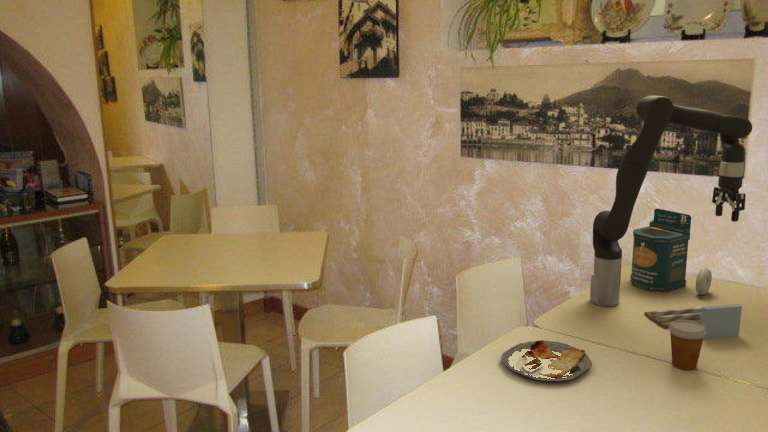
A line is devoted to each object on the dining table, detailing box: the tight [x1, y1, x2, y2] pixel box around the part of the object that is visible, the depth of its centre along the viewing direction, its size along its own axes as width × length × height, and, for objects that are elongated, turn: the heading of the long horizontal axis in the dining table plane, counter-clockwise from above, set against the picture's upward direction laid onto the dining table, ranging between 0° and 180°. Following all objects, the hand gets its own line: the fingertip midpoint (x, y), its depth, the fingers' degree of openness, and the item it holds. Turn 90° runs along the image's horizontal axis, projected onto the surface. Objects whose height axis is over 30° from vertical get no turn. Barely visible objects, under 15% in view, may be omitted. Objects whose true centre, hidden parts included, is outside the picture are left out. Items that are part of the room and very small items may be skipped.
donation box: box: [629, 208, 692, 293], centre depth 244 cm, size 16×16×28 cm
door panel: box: [701, 303, 743, 340], centre depth 198 cm, size 12×2×10 cm, turn 98°
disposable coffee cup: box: [668, 320, 706, 371], centre depth 180 cm, size 10×10×12 cm
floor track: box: [643, 306, 703, 329], centre depth 213 cm, size 26×12×2 cm, turn 98°
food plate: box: [500, 339, 593, 382], centre depth 183 cm, size 25×23×4 cm
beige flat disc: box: [695, 268, 713, 296], centre depth 234 cm, size 10×4×10 cm, turn 137°
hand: (726, 218), depth 229 cm, fingers open, 8 cm apart
